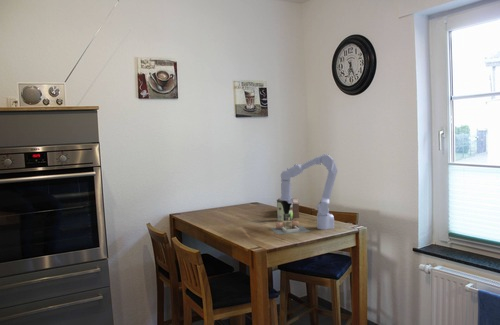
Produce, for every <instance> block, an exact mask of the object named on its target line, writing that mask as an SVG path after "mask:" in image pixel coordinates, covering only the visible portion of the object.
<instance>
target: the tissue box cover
mask: <svg viewBox="0 0 500 325" xmlns="http://www.w3.org/2000/svg"><path fill="white" fill-rule="evenodd" d="M280 198H281V197H279V198H278V199H280ZM291 199H292V200H293V201H292V203H293V219H300V207H299V206H300V203H299V197H291Z"/></svg>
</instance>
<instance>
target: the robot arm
mask: <svg viewBox="0 0 500 325" xmlns="http://www.w3.org/2000/svg"><path fill="white" fill-rule="evenodd" d="M321 164H322V165H323V166H324V167H325V168H326V170H327V171H328V172H327V176H326V180H325V183H324V188H323V191H322V195H321V199H320V202H319V203H318V204H317V206H316V208H317V213H316V224H317V225H316V227H317V229H318V230H331V229H333V230H334V229H335V218H334V217H335V216H334V215H333V213H330V208H329V206H330V199H331V196H332V193H333V190H334V185H335V181H336V177H337V173H338V168H337V165H336V162H335V159H334V158H333V157H332V156H331V155H329V154H327V153H325V154H322V155H318V156H316V157H314V158H312V159H310V160H308V161H306V162H304V163H303V164H302V163H301V164H299V163H298V164H293V166H291V167H290V168H288V167H287V168H286V169H285V170H283V171H281V173H280V179H281V180H280V182H281V183H280V194H281V195H280V196H281V197H279V198H280V199H279V198H278V199H279V200H284V201H283V202H281V204H282V206H283V209H284V213H285V214H289V209H290V206H291V204H292V200H291V198H292V184H291V178H295V177H298V175H301V174H303V172H304V170H306V169H309V168H310V167H311V168H312V167H313V166H314V165H315V166H316V165H319V166H320V165H321Z"/></svg>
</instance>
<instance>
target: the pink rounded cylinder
mask: <svg viewBox="0 0 500 325" xmlns="http://www.w3.org/2000/svg"><path fill="white" fill-rule="evenodd" d="M291 222H292V228H294V226H296V227H298V228H299V226H300V225H299V224H300V223H299V222H300V221H298V220H292V221H291Z"/></svg>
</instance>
